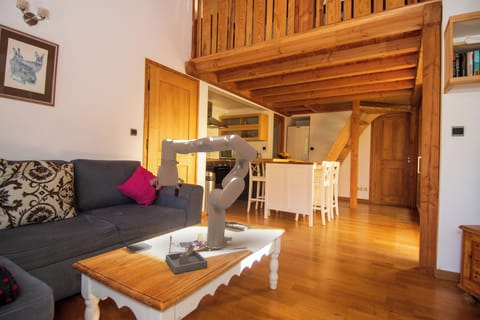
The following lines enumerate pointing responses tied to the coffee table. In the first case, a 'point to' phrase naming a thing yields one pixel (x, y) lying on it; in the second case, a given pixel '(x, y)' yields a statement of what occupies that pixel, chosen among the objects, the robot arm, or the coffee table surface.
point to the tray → (194, 264)
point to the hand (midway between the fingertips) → (166, 196)
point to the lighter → (186, 256)
